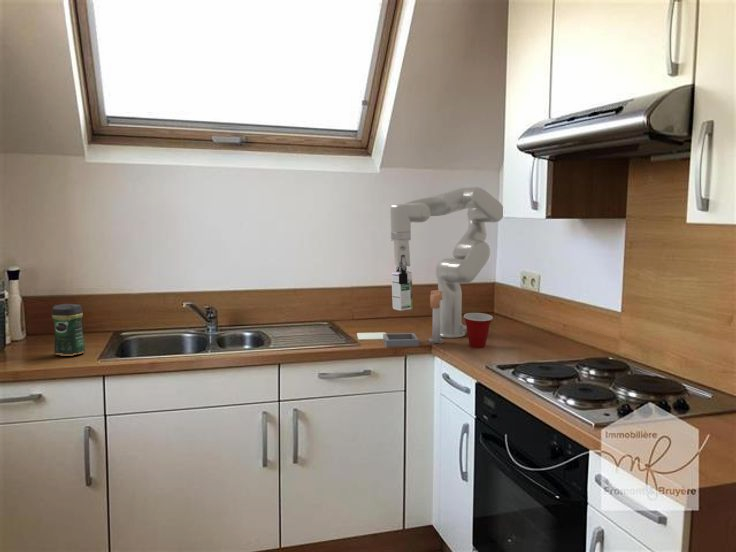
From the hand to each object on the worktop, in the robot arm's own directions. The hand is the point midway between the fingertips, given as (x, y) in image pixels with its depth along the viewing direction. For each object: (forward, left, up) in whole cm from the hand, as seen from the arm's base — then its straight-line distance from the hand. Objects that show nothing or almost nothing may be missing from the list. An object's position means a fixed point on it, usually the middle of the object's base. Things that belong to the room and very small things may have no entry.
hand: (401, 282), depth 225 cm
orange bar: (-11, +10, -7) cm, 17 cm away
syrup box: (0, 0, -11) cm, 11 cm away
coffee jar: (+122, +7, -24) cm, 124 cm away
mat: (+11, -13, -24) cm, 29 cm away
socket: (-5, 0, -24) cm, 24 cm away
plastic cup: (-27, +9, -24) cm, 38 cm away
